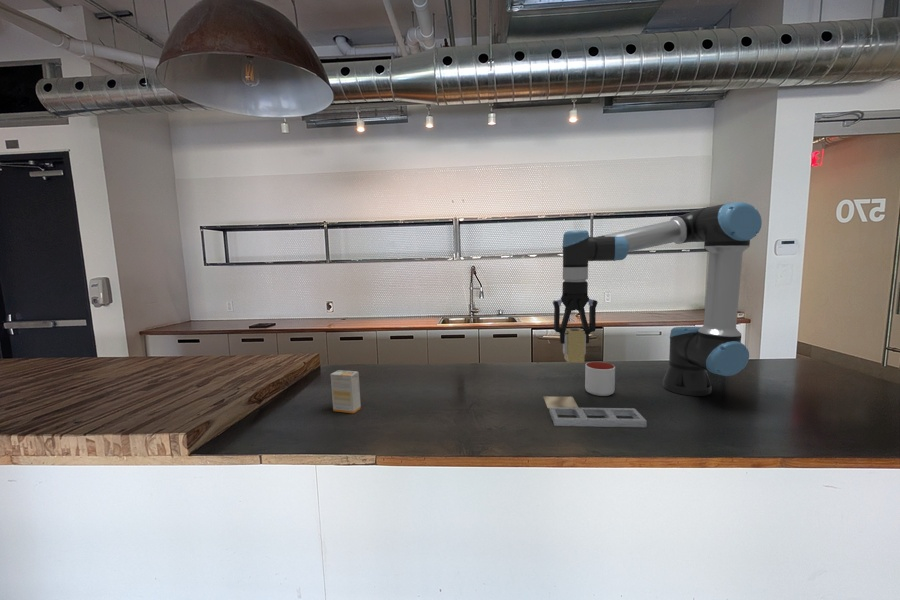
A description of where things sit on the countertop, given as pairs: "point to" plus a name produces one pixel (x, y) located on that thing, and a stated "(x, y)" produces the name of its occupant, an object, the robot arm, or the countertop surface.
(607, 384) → the cup
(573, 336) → the tall beige post
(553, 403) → the coaster
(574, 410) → the grey slotted tray
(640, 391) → the countertop surface
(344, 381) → the supplement box
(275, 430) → the countertop surface
